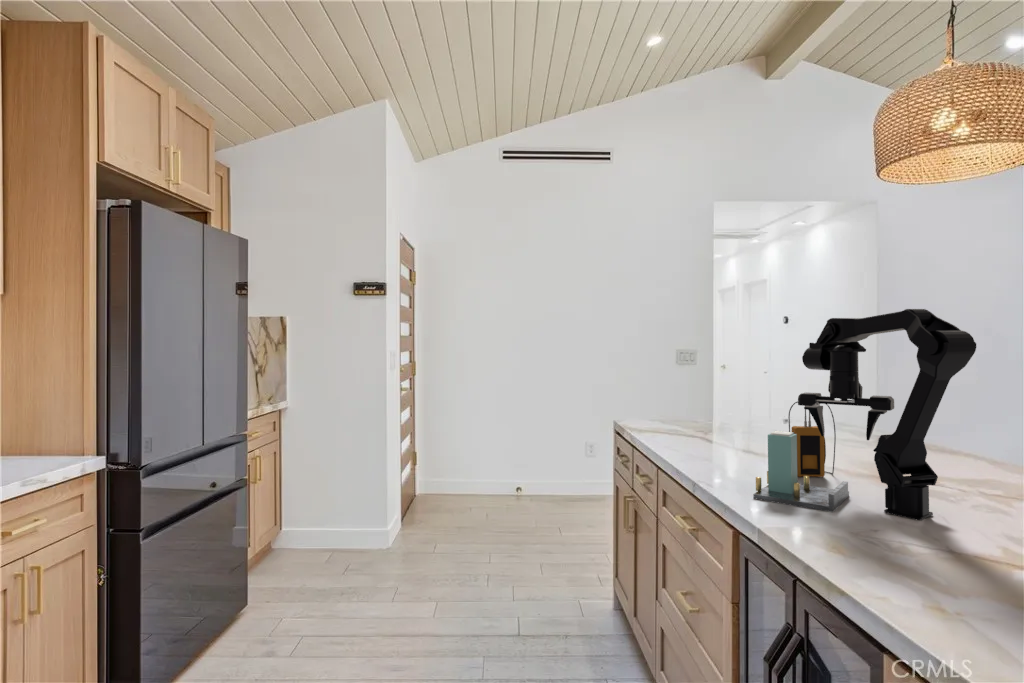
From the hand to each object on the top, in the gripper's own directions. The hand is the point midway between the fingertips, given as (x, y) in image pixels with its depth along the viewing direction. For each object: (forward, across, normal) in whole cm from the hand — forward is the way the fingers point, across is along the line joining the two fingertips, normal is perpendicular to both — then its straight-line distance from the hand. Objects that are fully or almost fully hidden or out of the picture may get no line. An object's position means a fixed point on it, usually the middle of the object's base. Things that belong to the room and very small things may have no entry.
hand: (845, 438), depth 129 cm
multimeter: (+13, +13, -16) cm, 25 cm away
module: (+12, +11, +10) cm, 19 cm away
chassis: (+13, +7, +10) cm, 18 cm away
